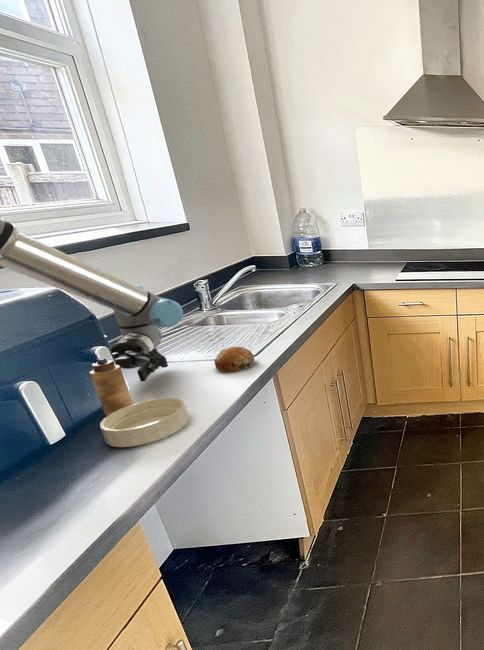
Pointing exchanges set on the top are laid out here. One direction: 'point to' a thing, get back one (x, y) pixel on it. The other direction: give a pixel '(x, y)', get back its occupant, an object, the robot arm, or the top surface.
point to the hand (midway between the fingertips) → (102, 382)
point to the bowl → (144, 422)
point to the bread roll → (234, 359)
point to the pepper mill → (110, 386)
